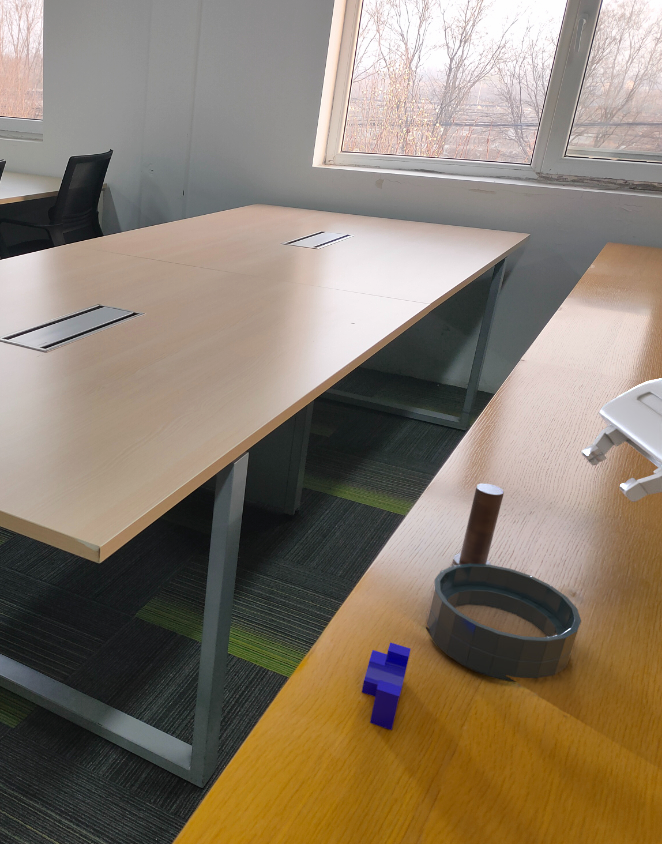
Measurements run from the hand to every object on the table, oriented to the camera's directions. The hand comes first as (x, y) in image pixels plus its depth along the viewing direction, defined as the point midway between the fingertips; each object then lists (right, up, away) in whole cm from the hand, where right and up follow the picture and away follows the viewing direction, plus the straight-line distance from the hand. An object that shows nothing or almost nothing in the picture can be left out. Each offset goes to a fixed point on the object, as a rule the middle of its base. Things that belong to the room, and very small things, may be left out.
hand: (604, 476), depth 92 cm
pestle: (-12, -14, +8) cm, 20 cm away
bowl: (-15, -18, -4) cm, 24 cm away
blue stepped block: (-30, -21, -12) cm, 39 cm away
